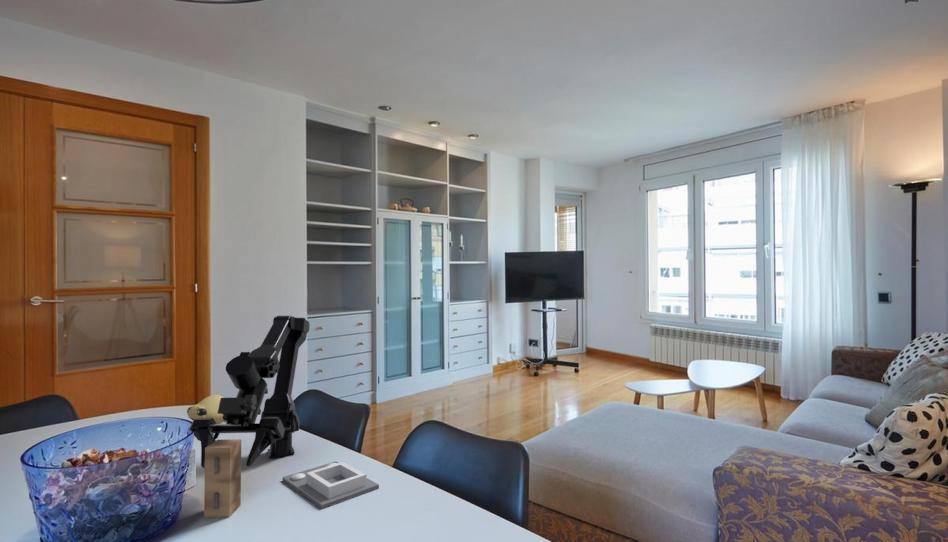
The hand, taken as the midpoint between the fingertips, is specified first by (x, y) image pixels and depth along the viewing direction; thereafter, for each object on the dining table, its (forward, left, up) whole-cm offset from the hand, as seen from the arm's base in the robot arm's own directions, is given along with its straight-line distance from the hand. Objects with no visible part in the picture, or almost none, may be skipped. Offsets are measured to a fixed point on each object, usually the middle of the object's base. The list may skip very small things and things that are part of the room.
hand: (225, 466), depth 97 cm
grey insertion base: (-2, +22, -9) cm, 24 cm away
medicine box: (-17, -10, -9) cm, 22 cm away
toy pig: (-65, -5, -9) cm, 65 cm away
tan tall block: (+1, 0, -9) cm, 9 cm away
